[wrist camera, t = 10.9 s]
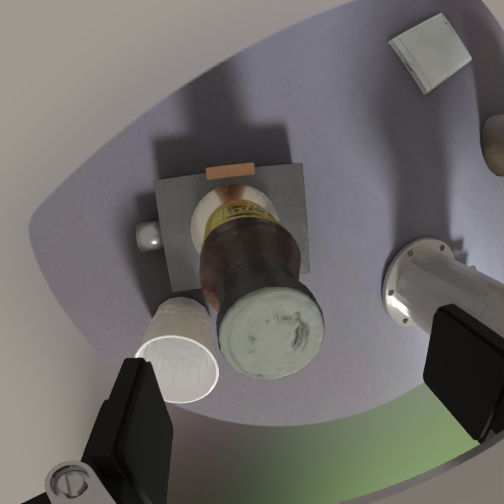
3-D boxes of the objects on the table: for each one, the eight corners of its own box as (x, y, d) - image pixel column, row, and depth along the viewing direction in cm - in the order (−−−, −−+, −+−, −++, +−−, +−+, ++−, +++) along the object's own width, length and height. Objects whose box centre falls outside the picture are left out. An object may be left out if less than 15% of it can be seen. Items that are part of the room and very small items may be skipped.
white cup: (137, 305, 36) (117, 351, 26) (198, 281, 36) (195, 322, 26) (168, 358, 38) (159, 411, 28) (226, 337, 38) (232, 389, 28)
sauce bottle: (283, 220, 31) (394, 313, 12) (246, 273, 32) (301, 422, 13) (225, 182, 29) (262, 222, 10) (188, 238, 30) (165, 365, 11)
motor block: (291, 158, 33) (311, 157, 27) (300, 265, 37) (319, 287, 30) (135, 178, 32) (116, 182, 25) (153, 285, 35) (142, 312, 29)
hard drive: (442, 11, 29) (392, 38, 30) (473, 59, 31) (429, 93, 32) (435, 15, 30) (385, 42, 31) (466, 61, 33) (421, 95, 33)
